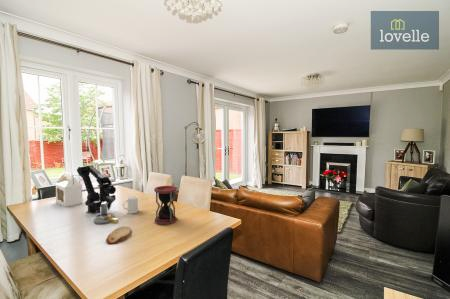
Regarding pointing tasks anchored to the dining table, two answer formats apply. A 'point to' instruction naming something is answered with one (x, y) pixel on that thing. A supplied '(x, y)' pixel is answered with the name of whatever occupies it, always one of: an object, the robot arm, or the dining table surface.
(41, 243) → the dining table surface
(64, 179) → the gable box
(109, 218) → the rosette
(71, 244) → the dining table surface
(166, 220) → the hourglass
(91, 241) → the dining table surface
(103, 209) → the wedge pin
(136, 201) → the mug
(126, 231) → the slice of bread
